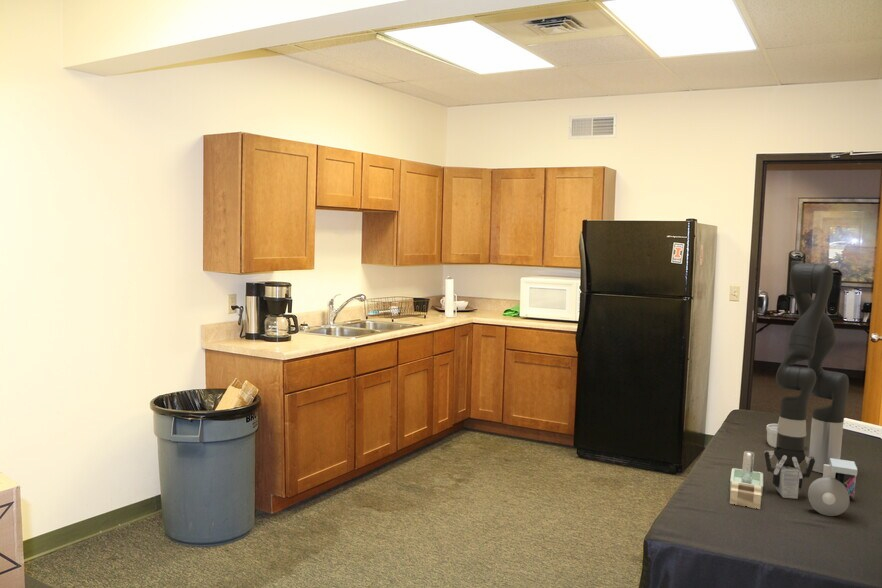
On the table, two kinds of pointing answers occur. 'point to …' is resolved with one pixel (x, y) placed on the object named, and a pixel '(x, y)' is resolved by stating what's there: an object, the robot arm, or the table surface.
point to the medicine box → (788, 482)
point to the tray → (756, 480)
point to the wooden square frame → (745, 495)
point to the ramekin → (772, 434)
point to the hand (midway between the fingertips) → (786, 487)
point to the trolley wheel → (831, 488)
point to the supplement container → (847, 483)
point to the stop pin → (747, 467)
